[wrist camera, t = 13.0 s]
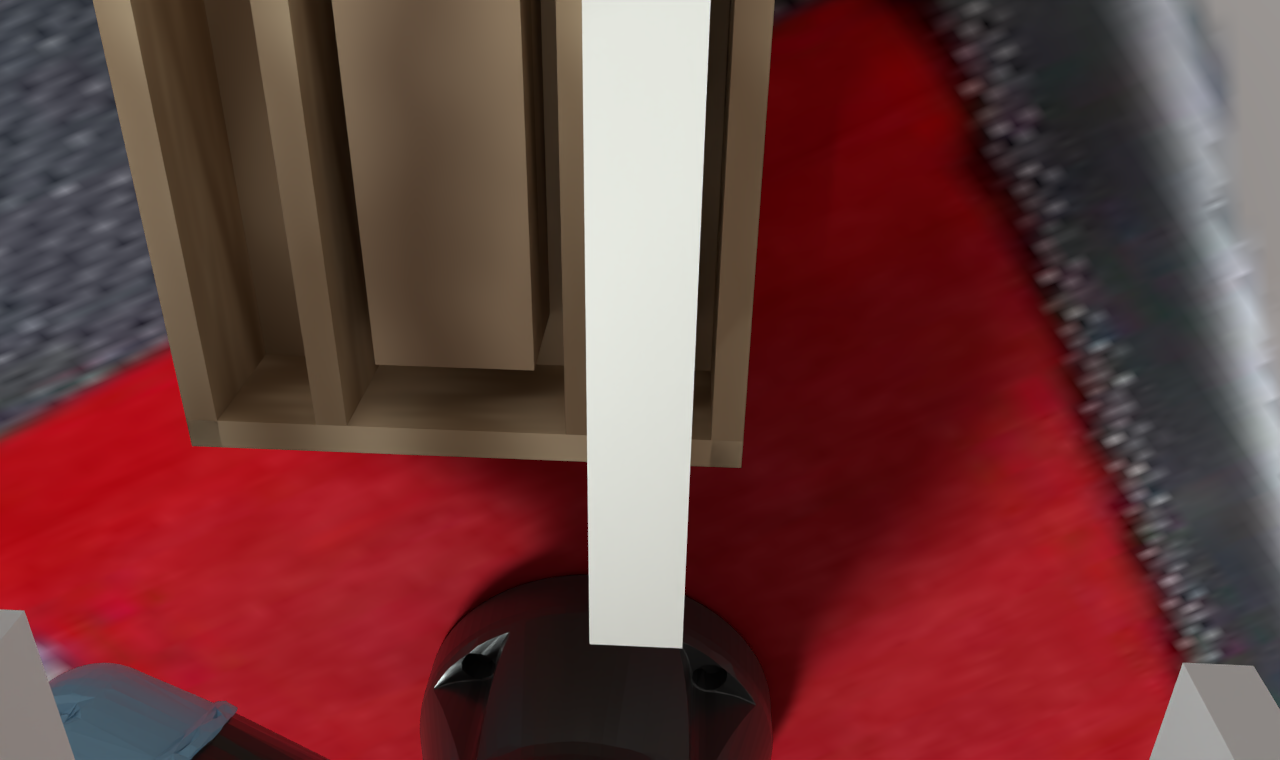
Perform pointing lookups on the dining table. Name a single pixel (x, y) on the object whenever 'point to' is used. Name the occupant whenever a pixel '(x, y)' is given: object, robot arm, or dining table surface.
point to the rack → (331, 248)
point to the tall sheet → (641, 305)
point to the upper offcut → (444, 178)
